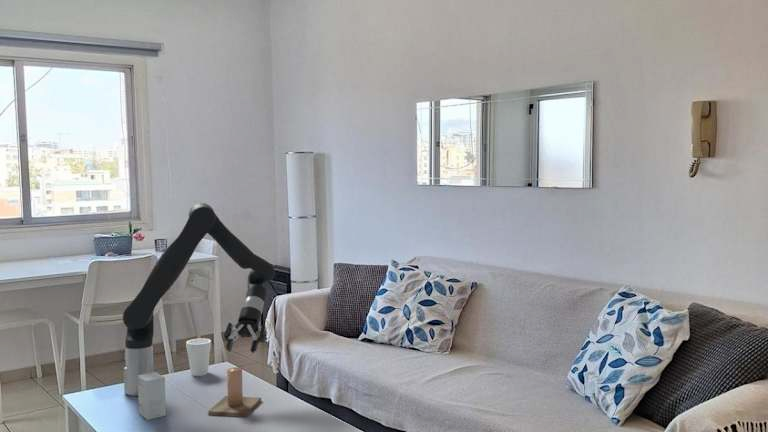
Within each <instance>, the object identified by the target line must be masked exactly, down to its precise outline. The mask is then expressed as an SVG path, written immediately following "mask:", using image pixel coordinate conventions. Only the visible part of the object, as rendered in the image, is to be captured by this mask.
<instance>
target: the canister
mask: <svg viewBox="0 0 768 432" xmlns="http://www.w3.org/2000/svg"><path fill="white" fill-rule="evenodd" d="M226 379H227V380H226V382H227V383H226V384H227V385H226V387H227V389H226V390H227V396H228V406H231V407H237V406H241V405H242V404H243V397H244V396H243V393H244V392H243V368H242V367H237V366H235V367H230V368H228V369H227V370H226Z"/></svg>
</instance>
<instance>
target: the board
mask: <svg viewBox="0 0 768 432" xmlns="http://www.w3.org/2000/svg"><path fill="white" fill-rule="evenodd" d="M261 401H262V397H257V396H256V397H255V396H253V397H252V396H243V404H242V405H241V406H237V407H231V406H228V395H225V396H224V397H223V398H221V399H220V400H219V401H218V402H217V403H216V404H215V405H214V406H213V407H211V408H210V409H209V410H208V412H207V413H208V416H210V415H211V416H227V417H241V418H242V417H244V418H247V416H249V414H250V413H251V412H252V411H253V410H254V409H255V408H256V407H257V406H258V405H259V404H260V403H261Z"/></svg>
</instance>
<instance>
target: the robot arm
mask: <svg viewBox="0 0 768 432" xmlns="http://www.w3.org/2000/svg"><path fill="white" fill-rule="evenodd" d="M182 228H183V229H182V230H181V232H180V233H179V234H178V235H177V237H176V238H175V239H174V241H172V242H171V244H169V245H168V246H167V248H166V249H165V250H164V251H163V253H161V255H160V256H159V258H158V260H157V261H156V263H155V265H154V266H153V268H152V269H151V271H150V273H149V275H148V277H147V278H146V281H145V282H144V284H143V286H142V288H141V289H140V291H139V292H138V294H137V296H135V298H134V299H133V300H132V301H131V302H130V303H129V305H128V306H127V307H126V308H125V309H124V311H123V312H122V313H123V314H122V321H123V324H124V326H125V327H126V336H125V367H123V381H124V382H123V386H124V387H123V388H124V389H123V390H124V394H125V395H128V396H131V397H138V375H142V374H147V373H153V372H154V347H153V346H154V345H153V338H154V329H155V328H154V311H155V309H156V307H157V305H158V304H159V302H160V300H161V299H162V297H164V295H165V294H166V293H167V292H168V291H169V290H170V288H171V287H172V286H174V283H175V282H176V281H177V280H178V279H179V277H180V275H181V274H182V273H183V271H184V269H185V268H186V266H187V265H188V263H189V261H190V259H191V257H192V256H193V254H194V251H195V250H196V248H197V247H198V245H199V244H200V242H201V241H202V240H203V239H204V238H205V236H206V235H209V236H210V237H211V238H212V239H213V240H215V242H216V243H217V244H218V245H219V246H220V247H221V249H222V250H223V251H224V252H225V253H226V255H228V257H230V259H231V260H232V261H233V262H234V263H236V265H238V266H239V267H240V268H241V269H244V270H245V269H246V270H247V269H250V271H249V273H248V276H247V290H246V295H245V298H244V301H243V302H242V306H241V309H240V313H239V316H238V319H237V323H236V324H232V323H231V322H228V324H227V326H226V328H225V329H226V330H225V332H224V334H223V338H224V339H225V341H227V343H226V346H225V348H226V350H227V352H228V353H229V352H230V353H231V351H232V348H233V345H234V342H235V341H236V340H238V339H240V338H250V337H251V338H252V339H253V340H252V343H251V347H250V353H252V354H254V353H255V352H257V348H258V345H259V343H265V339H266V333H267V327H266V325H265V324H264V323H263V324H261V325H260V323H261V318H262V314H263V310H264V305H265V300H266V296H267V289H266V287H265V286H264V285H265V284H267V283H269V282H271V281H273V279H274V278H275V277H276V270H275V268H274V266H273V265H272V264H271V263H270V262H268V261H267V260H266V259H264V258H263V257H260V256H258V255H257V254H255V253H254V252H253V251H252V250H251V249H249V247H248V246H247V245H245V243H243V241H241V240H240V239H239V238H238V237H237V236H236V235H235V234H234V233H233V232H232V231H230V229H229V228H227V227H226V225H225V224H224V223H223V222H222V220H221V219H220V218H219V217H218V215H217V214H216V213H215V211H214V209H213V207H212V206H210V205H209V204H207V203H204V202H199V203H195V204H194V205H192V206H191V208H190V209H189V210H188V219H187V220H186V223H185V225H184V227H182ZM258 331H259V337H257V335H256V333H257V332H258Z"/></svg>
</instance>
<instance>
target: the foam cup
mask: <svg viewBox="0 0 768 432" xmlns="http://www.w3.org/2000/svg"><path fill="white" fill-rule="evenodd" d="M185 345H186V346H185V349H186V351H187V357H188V358H187V359H188V364H189V369H190V370H189V371H190V375H191V376H193V377H202V376H206V375H207V374H208V371H209V364H210V356H211V355H210V354H211V348H212V340H211V339H209V338H203V337H202V338H192V339H189V340H187V341H186V342H185Z"/></svg>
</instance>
